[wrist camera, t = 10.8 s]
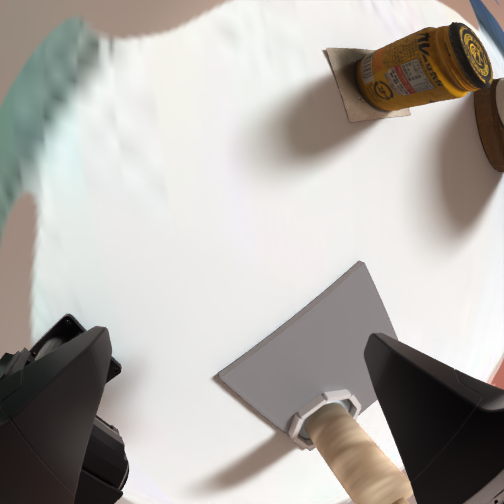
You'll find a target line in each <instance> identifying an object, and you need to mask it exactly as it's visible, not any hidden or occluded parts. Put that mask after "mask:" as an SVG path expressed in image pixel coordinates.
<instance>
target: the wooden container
mask: <svg viewBox="0 0 504 504" xmlns="http://www.w3.org/2000/svg"><path fill="white" fill-rule="evenodd" d="M475 111H476V119H477V124H478V129H479V133H480V136H481V140H482V143H483V146H484V149H485V152H486V154H487V156H488V159H489V160H490V162H491V164H492V165H493V167H494V168H495V169H496V170H497V171H500V172H504V78H499V79H493V82H492V84H491V86H490V87H489V88H486V89H478V90H476V91H475Z"/></svg>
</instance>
